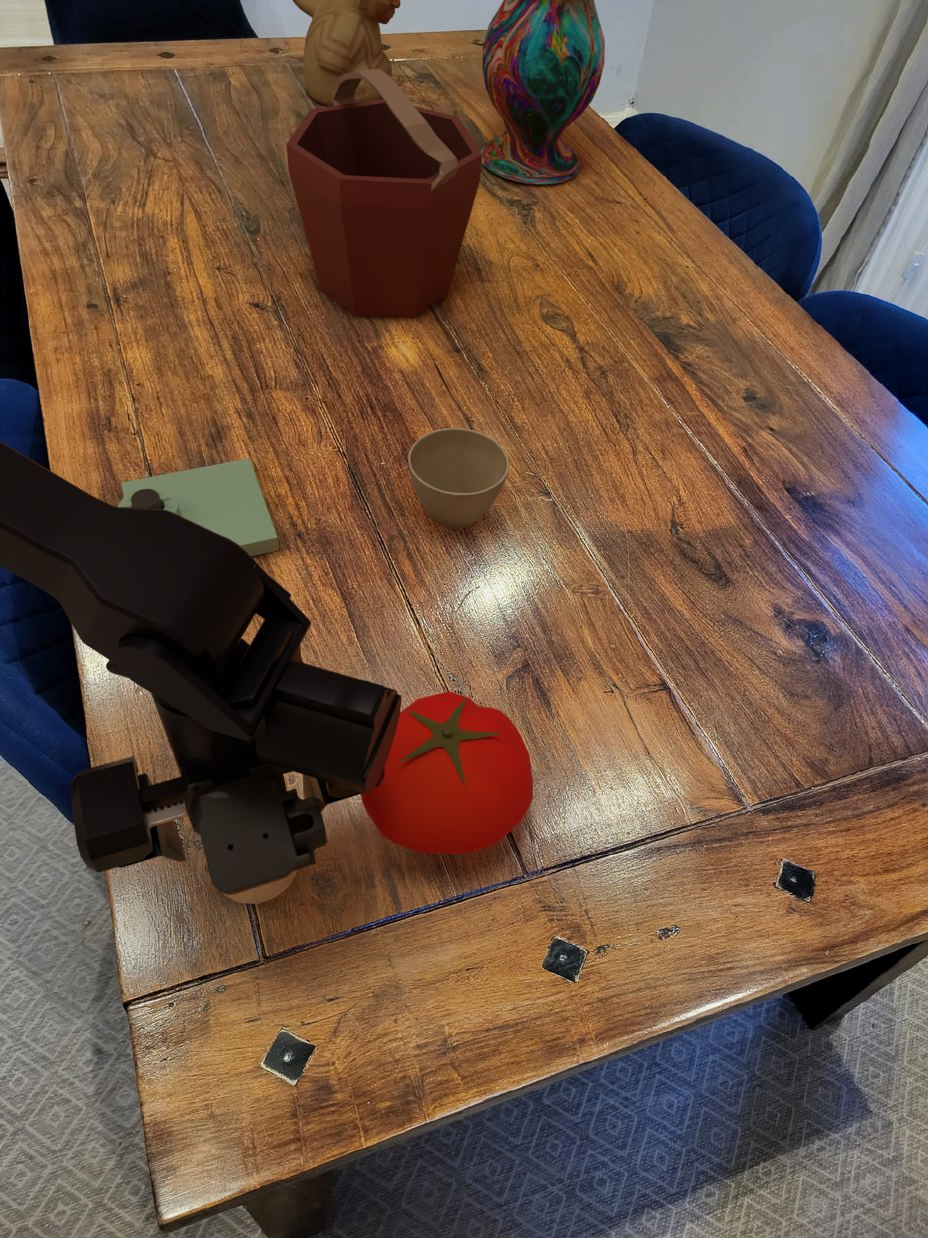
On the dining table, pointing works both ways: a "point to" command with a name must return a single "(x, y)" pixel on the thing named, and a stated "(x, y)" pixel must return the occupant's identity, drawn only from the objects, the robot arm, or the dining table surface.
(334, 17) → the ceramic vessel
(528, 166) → the vase
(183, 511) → the scale
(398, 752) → the tomato
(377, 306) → the bucket
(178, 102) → the dining table surface
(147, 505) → the button
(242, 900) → the bowl
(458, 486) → the brown cup
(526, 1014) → the dining table surface
